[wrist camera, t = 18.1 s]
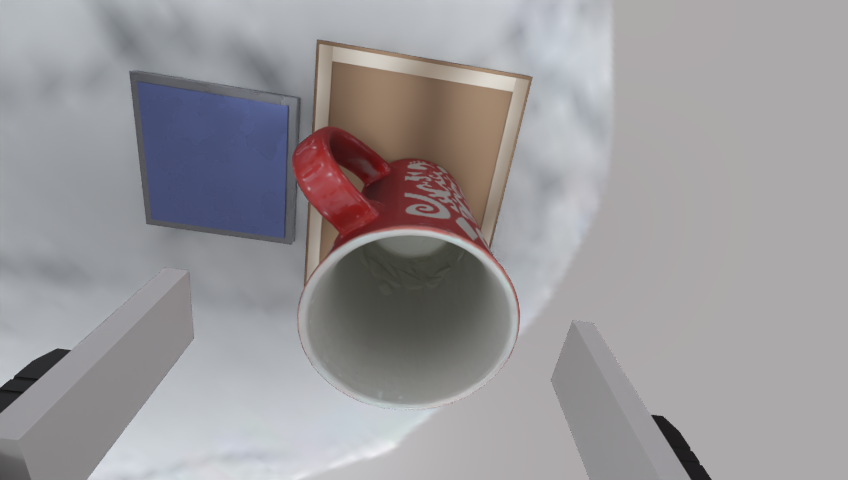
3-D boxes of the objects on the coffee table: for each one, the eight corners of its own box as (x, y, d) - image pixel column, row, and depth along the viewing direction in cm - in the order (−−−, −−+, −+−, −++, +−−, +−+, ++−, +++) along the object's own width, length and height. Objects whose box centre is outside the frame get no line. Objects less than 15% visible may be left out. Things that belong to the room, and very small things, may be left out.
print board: (306, 283, 33) (303, 289, 32) (319, 40, 26) (316, 39, 25) (473, 306, 34) (475, 312, 33) (530, 76, 27) (533, 77, 26)
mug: (501, 234, 30) (555, 364, 18) (390, 287, 32) (371, 439, 20) (413, 64, 26) (406, 85, 13) (289, 138, 27) (183, 216, 15)
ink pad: (152, 220, 31) (144, 224, 30) (136, 70, 26) (127, 71, 26) (294, 240, 31) (290, 245, 30) (300, 97, 27) (296, 99, 26)
